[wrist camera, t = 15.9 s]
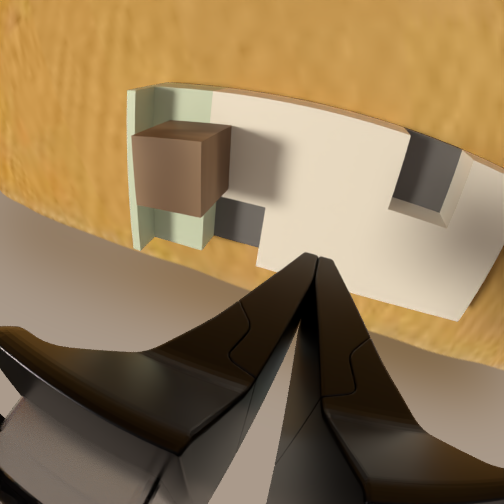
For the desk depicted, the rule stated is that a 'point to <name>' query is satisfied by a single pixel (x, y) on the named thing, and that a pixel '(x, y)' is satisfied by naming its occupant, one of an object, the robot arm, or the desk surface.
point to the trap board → (335, 195)
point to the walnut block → (181, 166)
